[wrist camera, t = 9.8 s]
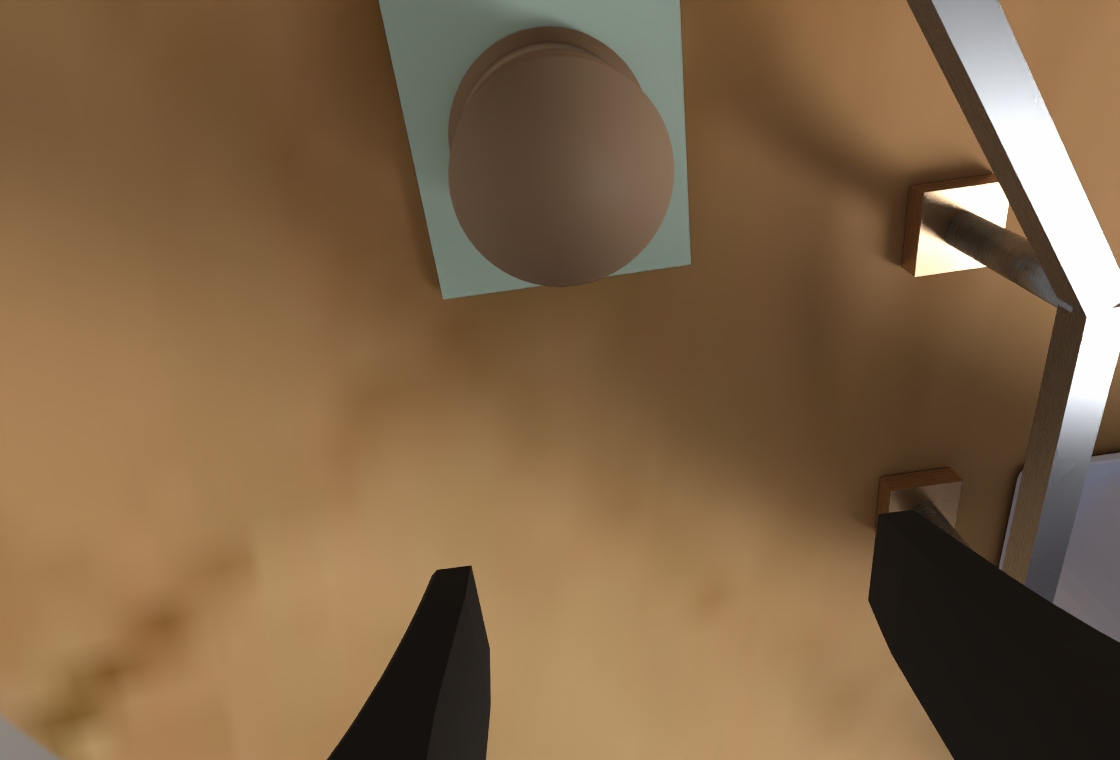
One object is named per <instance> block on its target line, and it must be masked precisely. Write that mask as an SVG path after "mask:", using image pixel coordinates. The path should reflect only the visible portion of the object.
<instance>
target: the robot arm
mask: <svg viewBox="0 0 1120 760" xmlns="http://www.w3.org/2000/svg"><path fill="white" fill-rule="evenodd" d="M1022 472H1023V470H1022ZM1022 472H1021V473H1020V474H1019V476H1018V479H1017V483H1016V488H1015V493H1014V498H1013V502H1012V507H1011V512H1010V517H1009V521H1008V526H1007V531H1006V536H1005V541H1004V545H1003V550H1002V555H1001V560H1000V564H999V568H997V567H996V566H994V565H993V564H992V563H990V562H989V561H987V560H986V559H984V558H983V557H981V556H980V555H978V554H977V553H976V552H974V551H973V550H971V549H970V548H968V547H967V546H965V545H964V544H962V543H961V542H960V541H958V540H957V539H955V538H954V537H952V536H951V535H950V534H948V533H947V532H945V531H944V530H942V529H941V528H940V527H938V526H937V525H935V524H934V523H932V522H931V521H929V520H928V519H926V518H925V517H923V516H922V515H920V514H919V513H917V512H916V511H914V510H906V511H898V512H890V513H882V514H878V521H877V529H876V538H875V546H874V555H873V564H872V572H871V581H870V589H869V598H868V601H869V603H870V605H871V608H872V610H873V613H874V615H875V617H876V620H877V622H878V624H879V627H880V629H881V631H882V634H883V636H884V638H885V640H886V643H887V645H888V647H889V649H890V651H891V654H892V655H893V657H894V659H895V661H896V662H897V664H898V666H899V668H900V669H901V671H902V673H903V674H904V676H905V678H906V679H907V681H908V683H909V685H910V686H911V688H912V690H913V691H914V693H915V695H916V696H917V698H918V700H919V701H920V703H921V705H922V706H923V708H924V710H925V712H926V713H927V715H928V717H929V718H930V720H931V722H932V723H933V725H934V727H935V728H936V730H937V732H938V733H939V735H940V737H941V738H942V740H943V742H944V743H945V745H946V747H947V748H948V750H949V752H950V753H951V755H952V757H953V758H954V760H1120V453H1113V454H1106V455H1099V456H1092V457H1091V460H1090V464H1089V468H1088V472H1087V476H1086V479H1085V483H1084V487H1083V491H1082V494H1081V498H1080V502H1079V506H1078V510H1077V513H1076V517H1075V521H1074V525H1073V529H1072V532H1071V536H1070V540H1069V544H1068V548H1067V551H1066V555H1065V559H1064V563H1063V566H1062V570H1061V574H1060V578H1059V582H1058V585H1057V589H1056V593H1055V597H1054V601H1053V603H1051V602H1050V601H1048V600H1047V599H1045V598H1043V597H1042V596H1040V595H1039V594H1037V593H1036V592H1034V591H1032V590H1031V589H1029V588H1028V587H1026V586H1025V585H1023V584H1022V583H1020V582H1018V581H1017V580H1015V579H1014V578H1012V577H1011V576H1009V575H1008V574H1006V573H1005V572H1003V571H1002V566H1003V562H1004V557H1005V552H1006V548H1007V543H1008V538H1009V534H1010V529H1011V524H1012V519H1013V515H1014V510H1015V505H1016V501H1017V496H1018V491H1019V487H1020V482H1021V477H1022ZM490 706H491V696H490V648H489V643H488V639H487V634H486V630H485V625H484V621H483V616H482V612H481V607H480V603H479V598H478V594H477V589H476V584H475V580H474V575H473V571H472V566H464V567H456V568H448V569H441V570H437V571H436V572H435V573H434V574H433V575H432V577H431V579H430V581H429V584H428V586H427V589H426V591H425V593H424V595H423V598H422V600H421V602H420V604H419V606H418V608H417V610H416V613H415V615H414V617H413V619H412V621H411V623H410V625H409V627H408V629H407V631H406V633H405V635H404V636H403V638H402V640H401V642H400V644H399V646H398V648H397V649H396V651H395V653H394V655H393V657H392V659H391V660H390V662H389V664H388V666H387V668H386V670H385V671H384V673H383V675H382V677H381V678H380V680H379V681H378V683H377V685H376V686H375V688H374V690H373V691H372V693H371V694H370V696H369V698H368V699H367V701H366V703H365V704H364V706H363V707H362V709H361V711H360V712H359V714H358V716H357V717H356V719H355V720H354V722H353V723H352V725H351V726H350V728H349V729H348V731H347V732H346V734H345V735H344V736H343V738H342V739H341V741H340V742H339V744H338V745H337V746H336V748H335V749H334V751H333V752H332V753H331V755H330V756H329V757H328V759H327V760H486V752H487V741H488V729H489V718H490Z"/></svg>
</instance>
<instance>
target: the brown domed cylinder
mask: <svg viewBox="0 0 1120 760" xmlns="http://www.w3.org/2000/svg"><path fill="white" fill-rule="evenodd" d="M448 142H449V150H450V158H449V166H448V182H449V189H450V197H451V200H452V204H453V208H454V211H455V214H456V216H457V219H458V221H459V224H460V226H461V227H462V229H463V231H464V233H465V234H466V236H467V238H468V239H469V240H470V242H471V243H472V244H473V246H474V247H475V248H476V249H477V250H478V251H479V252H480V253H481V254H482V255H483V256H484V257H485V258H486V259H487V260H488V261H489V262H491V263H492V264H493V265H494V266H496V267H497V268H499V269H500V270H502V271H504V272H505V273H507V274H509V275H511V276H513V277H515V278H518V279H520V280H523V281H526V282H529V283H533V284H537V285H543V286H553V287H566V286H577V285H582V284H586V283H590V282H593V281H596V280H599V279H602V278H604V277H606V276H608V275H610V274H613V273H615V272H616V271H618V270H619V269H621V268H622V267H624V266H626V265H627V264H628V263H629V262H631V261H632V260H633V259H634V258H635V257H637V256H638V255H639V254H640V253H641V252H642V250H643V249H644V248H645V247H646V246H647V245H648V244H649V242H650V241H651V240H652V238H653V237H654V236H655V234H656V232H657V231H658V229H659V227H660V225H661V224H662V222H663V219H664V217H665V215H666V212H667V210H668V207H669V203H670V200H671V196H672V191H673V184H674V157H673V149H672V145H671V141H670V137H669V134H668V131H667V129H666V126H665V124H664V121H663V119H662V118H661V116H660V114H659V112H658V110H657V109H656V107H655V106H654V104H653V103H652V102H651V100H650V99H649V98H648V96H647V95H646V94H645V93H644V92H643V91H642V89H641V86H640V84H639V82H638V81H637V79H636V77H635V75H634V74H633V72H632V71H631V69H630V68H629V67H628V65H627V64H626V63H625V62H624V61H623V60H622V59H621V58H620V57H619V56H618V55H617V54H616V53H615V52H614V51H613V50H612V49H610V48H609V47H608V46H606V45H605V44H604V43H602V42H600V41H599V40H597V39H595V38H593V37H591V36H590V35H588V34H585V33H582V32H580V31H577V30H574V29H569V28H565V27H556V26H541V27H532V28H528V29H523V30H520V31H517V32H515V33H512V34H509V35H507V36H505V37H504V38H502V39H500V40H498V41H496V42H495V43H494V44H492V45H491V46H490V47H488V48H487V49H486V50H485V51H484V52H483V53H482V54H481V55H480V56H479V57H478V58H477V59H476V60H475V61H474V62H473V64H472V65H471V66H470V67H469V69H468V70H467V72H466V73H465V75H464V77H463V79H462V80H461V82H460V84H459V87H458V89H457V91H456V94H455V96H454V99H453V103H452V107H451V110H450V116H449V124H448Z"/></svg>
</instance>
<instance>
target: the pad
mask: <svg viewBox="0 0 1120 760" xmlns="http://www.w3.org/2000/svg"><path fill="white" fill-rule="evenodd" d="M379 4H380V9H381V14H382V18H383V23H384V28H385V32H386V37H387V41H388V46H389V51H390V55H391V60H392V65H393V69H394V74H395V79H396V83H397V88H398V92H399V97H400V102H401V106H402V111H403V116H404V120H405V125H406V130H407V134H408V139H409V143H410V148H411V153H412V157H413V162H414V167H415V171H416V176H417V181H418V185H419V190H420V194H421V199H422V204H423V208H424V213H425V218H426V222H427V227H428V232H429V236H430V241H431V245H432V250H433V255H434V259H435V264H436V269H437V273H438V278H439V283H440V287H441V292H442V296H443V300H444V299H451V298H458V297H465V296H472V295H479V294H486V293H494V292H501V291H508V290H515V289H522V288H529V287H536V286H543V285H537V284H533V283H529V282H526V281H523V280H520V279H518V278H515V277H513V276H511V275H509V274H507V273H505V272H504V271H502V270H500V269H499V268H497V267H496V266H494V265H493V264H492V263H491V262H489V261H488V260H487V259H486V258H485V257H484V256H483V255H482V254H481V253H480V252H479V251H478V250H477V249H476V248H475V247H474V246H473V244H472V243H471V242H470V240H469V239H468V238H467V236H466V234H465V233H464V231H463V229H462V227H461V226H460V224H459V221H458V219H457V216H456V214H455V211H454V208H453V204H452V200H451V197H450V189H449V182H448V166H449V158H450V150H449V142H448V124H449V116H450V110H451V107H452V103H453V99H454V96H455V94H456V91H457V89H458V87H459V84H460V82H461V80H462V79H463V77H464V75H465V73H466V72H467V70H468V69H469V67H470V66H471V65H472V64H473V62H474V61H475V60H476V59H477V58H478V57H479V56H480V55H481V54H482V53H483V52H484V51H485V50H486V49H487V48H488V47H490V46H491V45H492V44H494V43H495V42H496V41H498V40H500V39H502V38H504V37H505V36H507V35H509V34H512V33H515V32H517V31H520V30H523V29H528V28H532V27H541V26H556V27H565V28H569V29H574V30H577V31H580V32H582V33H585V34H588V35H590V36H591V37H593V38H595V39H597V40H599V41H600V42H602V43H604V44H605V45H606V46H608V47H609V48H610V49H612V50H613V51H614V52H615V53H616V54H617V55H618V56H619V57H620V58H621V59H622V60H623V61H624V62H625V63H626V64H627V65H628V67H629V68H630V69H631V71H632V72H633V74H634V75H635V77H636V79H637V81H638V82H639V84H640V86H641V89H642V91H643V92H644V93H645V94H646V95H647V96H648V98H649V99H650V100H651V102H652V103H653V104H654V106H655V107H656V109H657V110H658V112H659V114H660V116H661V118H662V119H663V121H664V124H665V126H666V129H667V131H668V134H669V137H670V141H671V145H672V149H673V157H674V184H673V191H672V196H671V200H670V203H669V207H668V210H667V212H666V215H665V217H664V219H663V222H662V224H661V225H660V227H659V229H658V231H657V232H656V234H655V236H654V237H653V238H652V240H651V241H650V242H649V244H648V245H647V246H646V247H645V248H644V249H643V250H642V252H641V253H640V254H639V255H638V256H637V257H635V258H634V259H633V260H632V261H631V262H629V263H628V264H627V265H626V266H624V267H622V268H621V269H619V270H618V271H616V272H615V273H613V274H610V275H608V276H613V275H620V274H627V273H634V272H641V271H648V270H656V269H663V268H670V267H677V266H684V265H691V255H690V231H689V207H688V184H687V160H686V137H685V113H684V90H683V66H682V42H681V19H680V0H379Z"/></svg>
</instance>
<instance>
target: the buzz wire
mask: <svg viewBox="0 0 1120 760" xmlns="http://www.w3.org/2000/svg"><path fill="white" fill-rule="evenodd" d="M907 2H908V4H909V6H910V8H911V10H912V12H913V14H914V16H915V18H916V20H917V22H918V24H919V26H920V28H921V30H922V32H923V34H924V36H925V38H926V40H927V42H928V44H929V46H930V48H931V50H932V52H933V54H934V56H935V58H936V60H937V62H938V64H939V66H940V68H941V70H942V71H943V73H944V75H945V77H946V79H947V81H948V83H949V85H950V87H951V89H952V91H953V93H954V95H955V97H956V99H957V101H958V103H959V105H960V107H961V109H962V111H963V113H964V115H965V117H966V119H967V121H968V123H969V125H970V127H971V129H972V131H973V133H974V135H975V137H976V139H977V141H978V143H979V144H980V146H981V148H982V150H983V152H984V154H985V156H986V158H987V160H988V162H989V164H990V166H991V168H992V170H993V172H994V174H989V175H982V176H975V177H968V178H961V179H954V180H947V181H940V182H933V183H926V184H919V185H912V186H910V188H909V198H908V208H907V218H906V228H905V237H904V247H903V257H902V268H903V269H905V270H906V271H907V272H909V273H910V274H912V275H913V276H914V277H917V276H924V275H931V274H938V273H945V272H952V271H959V270H966V269H973V268H980V267H988V268H990V269H991V270H993V271H995V272H996V273H998V274H1000V275H1002V276H1003V277H1005V278H1007V279H1008V280H1010V281H1012V282H1014V283H1015V284H1017V285H1019V286H1020V287H1022V288H1024V289H1026V290H1027V291H1029V292H1031V293H1032V294H1034V295H1036V296H1038V297H1039V298H1041V299H1043V300H1044V301H1046V302H1048V303H1050V304H1051V305H1053V306H1055V307H1056V308H1057V313H1056V317H1055V322H1054V327H1053V331H1052V336H1051V341H1050V346H1049V350H1048V355H1047V360H1046V364H1045V369H1044V374H1043V378H1042V383H1041V388H1040V393H1039V397H1038V402H1037V407H1036V411H1035V416H1034V421H1033V425H1032V430H1031V435H1030V440H1029V444H1028V449H1027V454H1026V458H1025V463H1024V468H1023V472H1022V477H1021V482H1020V487H1019V491H1018V496H1017V501H1016V505H1015V510H1014V515H1013V519H1012V524H1011V529H1010V534H1009V538H1008V543H1007V548H1006V552H1005V557H1004V562H1003V566H1002V571H1003V572H1005V573H1006V574H1008V575H1009V576H1011V577H1012V578H1014V579H1015V580H1017V581H1018V582H1020V583H1022V584H1023V585H1025V586H1026V587H1028V588H1029V589H1031V590H1032V591H1034V592H1036V593H1037V594H1039V595H1040V596H1042V597H1043V598H1045V599H1047V600H1048V601H1050V602H1051V603H1053V601H1054V597H1055V593H1056V589H1057V585H1058V582H1059V578H1060V574H1061V570H1062V566H1063V563H1064V559H1065V555H1066V551H1067V548H1068V544H1069V540H1070V536H1071V532H1072V529H1073V525H1074V521H1075V517H1076V513H1077V510H1078V506H1079V502H1080V498H1081V494H1082V491H1083V487H1084V483H1085V479H1086V476H1087V472H1088V468H1089V464H1090V460H1091V457H1092V453H1093V449H1094V445H1095V441H1096V438H1097V434H1098V430H1099V426H1100V422H1101V419H1102V415H1103V411H1104V407H1105V404H1106V400H1107V396H1108V392H1109V388H1110V385H1111V381H1112V377H1113V373H1114V369H1115V366H1116V362H1117V358H1118V354H1119V350H1120V270H1119V268H1118V266H1117V264H1116V261H1115V259H1114V257H1113V255H1112V252H1111V250H1110V248H1109V246H1108V244H1107V241H1106V239H1105V237H1104V235H1103V232H1102V230H1101V228H1100V226H1099V224H1098V221H1097V219H1096V217H1095V215H1094V212H1093V210H1092V208H1091V206H1090V204H1089V201H1088V199H1087V197H1086V195H1085V192H1084V190H1083V188H1082V186H1081V183H1080V181H1079V179H1078V177H1077V175H1076V172H1075V170H1074V168H1073V166H1072V163H1071V161H1070V159H1069V157H1068V155H1067V152H1066V150H1065V148H1064V146H1063V143H1062V141H1061V139H1060V137H1059V135H1058V132H1057V130H1056V128H1055V126H1054V123H1053V121H1052V119H1051V117H1050V115H1049V112H1048V110H1047V108H1046V106H1045V103H1044V101H1043V99H1042V97H1041V95H1040V92H1039V90H1038V88H1037V86H1036V83H1035V81H1034V79H1033V77H1032V75H1031V72H1030V70H1029V68H1028V66H1027V63H1026V61H1025V59H1024V57H1023V55H1022V52H1021V50H1020V48H1019V46H1018V43H1017V41H1016V39H1015V37H1014V35H1013V32H1012V30H1011V28H1010V26H1009V23H1008V21H1007V19H1006V17H1005V14H1004V12H1003V10H1002V8H1001V6H1000V3H999V1H998V0H907ZM1009 204H1010V206H1011V208H1012V210H1013V212H1014V214H1015V215H1016V217H1017V219H1018V221H1019V223H1020V225H1021V227H1022V229H1023V231H1024V233H1025V235H1026V237H1027V239H1026V238H1024V237H1021V236H1019V235H1017V234H1015V233H1013V232H1011V231H1009V230H1007V229H1005V224H1006V218H1007V212H1008V206H1009ZM962 482H963V481H962V480H961V479H960V478H959V477H958V475H957V474H956V473H955V472H954V471H953V470H952V469H951V468H950V467H948V468H941V469H934V470H926V471H919V472H912V473H905V474H898V475H891V476H884V477H880V486H879V496H878V506H877V515H876V525H875V532H876V529H877V521H878V514H882V513H890V512H898V511H906V510H914V511H916V512H917V513H919V514H920V515H922V516H923V517H925V518H926V519H928V520H929V521H931V522H932V523H934V524H935V525H937V526H938V527H940V528H941V529H942V530H944V531H945V532H947V533H948V534H950V535H951V536H952V537H954V538H955V539H957V540H958V541H960V542H961V543H962V544H964V545H965V546H967V547H968V548H970V547H969V545H968V544H967V543H966V542H965V541H964V539H963V538H962V537H961V536H960V535H959V533H958V532H957V531H956V530H955V524H956V518H957V512H958V506H959V500H960V494H961V488H962ZM970 549H971V548H970ZM971 550H972V549H971Z"/></svg>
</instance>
